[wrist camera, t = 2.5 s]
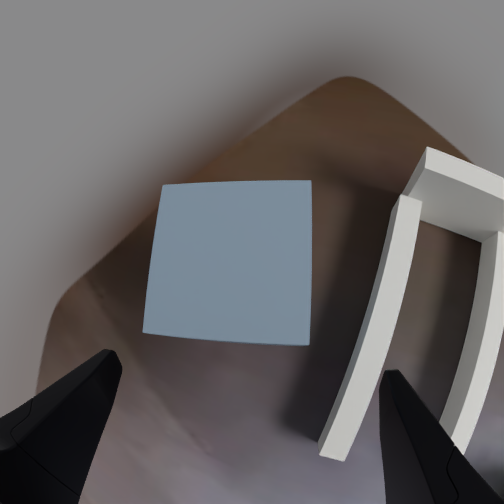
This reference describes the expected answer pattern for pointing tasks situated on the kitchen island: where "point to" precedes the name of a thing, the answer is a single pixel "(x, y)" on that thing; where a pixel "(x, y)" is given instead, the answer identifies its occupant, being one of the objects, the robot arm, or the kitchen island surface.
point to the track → (393, 286)
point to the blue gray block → (232, 263)
